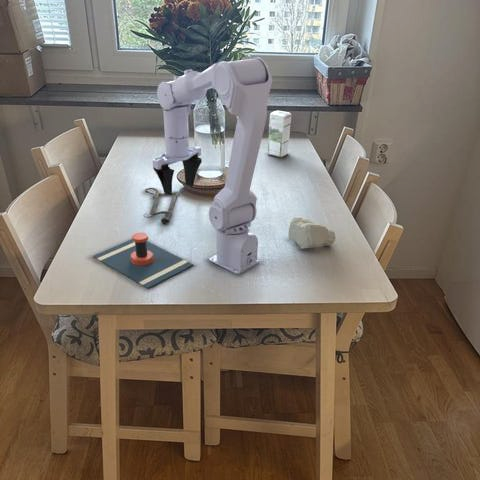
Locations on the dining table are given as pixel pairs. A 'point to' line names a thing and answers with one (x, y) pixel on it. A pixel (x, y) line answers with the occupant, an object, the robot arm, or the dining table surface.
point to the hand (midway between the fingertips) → (178, 189)
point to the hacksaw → (156, 196)
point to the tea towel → (147, 274)
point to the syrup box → (279, 133)
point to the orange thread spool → (141, 250)
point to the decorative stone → (310, 233)
